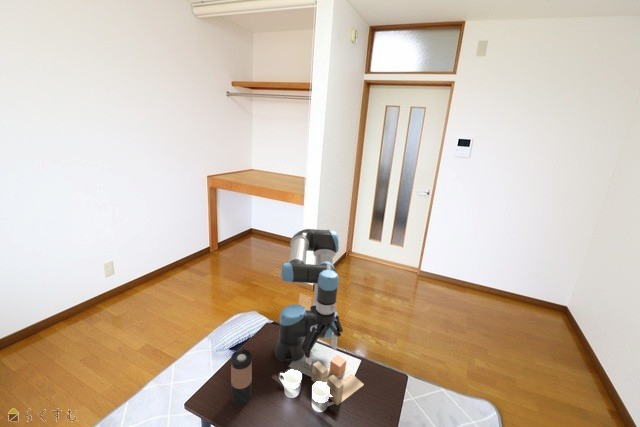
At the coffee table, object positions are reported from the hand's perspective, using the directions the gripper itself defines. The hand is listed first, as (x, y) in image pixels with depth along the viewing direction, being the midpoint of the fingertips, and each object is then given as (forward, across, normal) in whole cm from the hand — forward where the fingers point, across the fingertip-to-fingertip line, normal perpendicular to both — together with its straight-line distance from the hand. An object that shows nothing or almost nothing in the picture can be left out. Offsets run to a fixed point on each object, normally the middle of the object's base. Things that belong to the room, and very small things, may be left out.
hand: (321, 355), depth 122 cm
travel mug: (+16, -28, +14) cm, 35 cm away
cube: (+14, +11, 0) cm, 18 cm away
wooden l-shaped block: (+16, +7, -9) cm, 19 cm away
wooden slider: (+16, +7, 0) cm, 17 cm away
